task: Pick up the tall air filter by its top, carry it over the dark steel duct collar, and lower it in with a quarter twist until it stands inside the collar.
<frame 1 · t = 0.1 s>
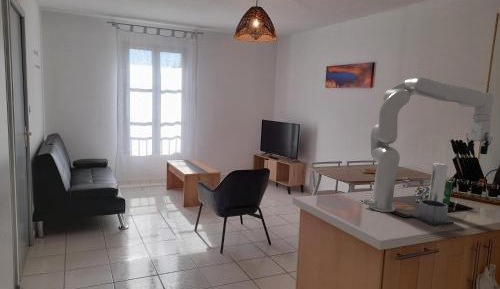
hand: (476, 152, 180), 31 cm above the table, tool pointing down, fingers open, 9 cm apart
passion flower: (424, 203, 197), on the table
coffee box: (441, 203, 199), on the table
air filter: (433, 212, 181), on the table
duct collar: (431, 219, 169), on the table
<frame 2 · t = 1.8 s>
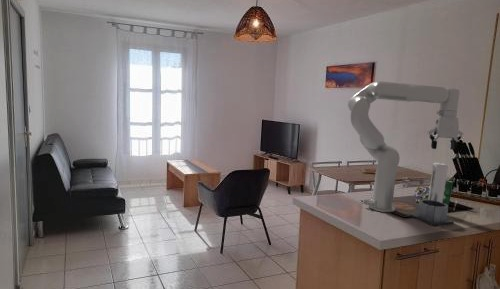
hand: (443, 149, 176), 32 cm above the table, tool pointing down, fingers open, 9 cm apart
nothing on the table moved.
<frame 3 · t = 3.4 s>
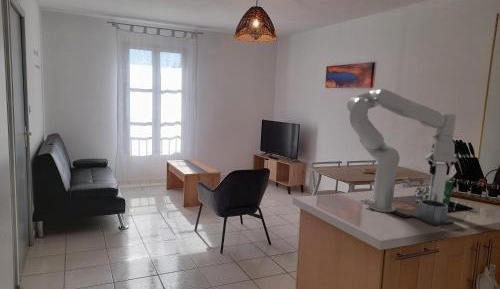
hand: (439, 174, 178), 20 cm above the table, tool pointing down, fingers closed on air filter, 6 cm apart
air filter: (433, 212, 181), on the table, touching gripper
everything else where it was.
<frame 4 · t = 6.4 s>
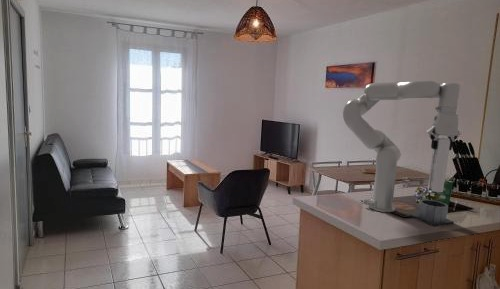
hand: (441, 149, 166), 33 cm above the table, tool pointing down, fingers closed on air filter, 6 cm apart
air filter: (435, 190, 168), point 14 cm above the table, touching gripper
everything else where it was.
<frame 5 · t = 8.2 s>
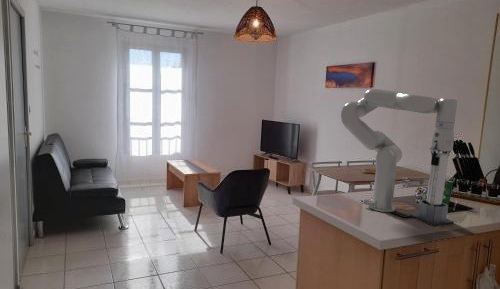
hand: (439, 164, 165), 26 cm above the table, tool pointing down, fingers closed on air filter, 6 cm apart
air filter: (433, 206, 168), point 7 cm above the table, touching gripper
everything else where it was.
when the fingers open (22 cm above the table, at t = 9.6 s): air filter drops 1 cm, resting on duct collar.
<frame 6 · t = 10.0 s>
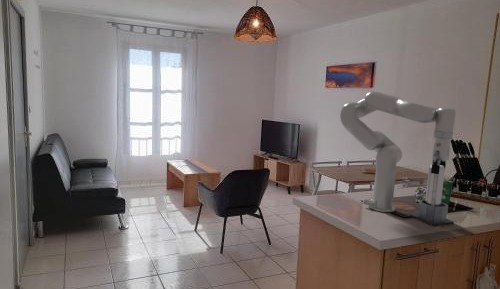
hand: (437, 172, 165), 23 cm above the table, tool pointing down, fingers open, 9 cm apart
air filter: (431, 218, 169), point 1 cm above the table, touching duct collar
everything else where it was.
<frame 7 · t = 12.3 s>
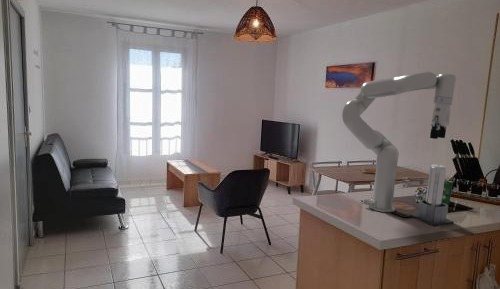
hand: (437, 138, 168), 38 cm above the table, tool pointing down, fingers open, 9 cm apart
nothing on the table moved.
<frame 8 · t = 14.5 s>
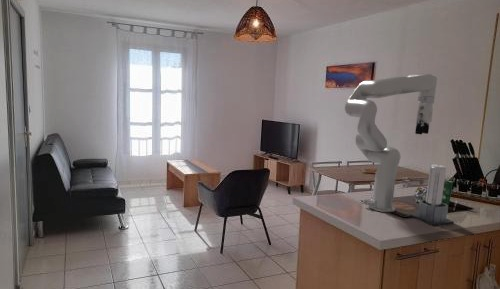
hand: (421, 133, 185), 38 cm above the table, tool pointing down, fingers open, 9 cm apart
nothing on the table moved.
at the end: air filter 0.1 cm off-centre on the duct collar, point 0.8 cm above the duct collar's base; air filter tilted 0°; the gripper is holding nothing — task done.
